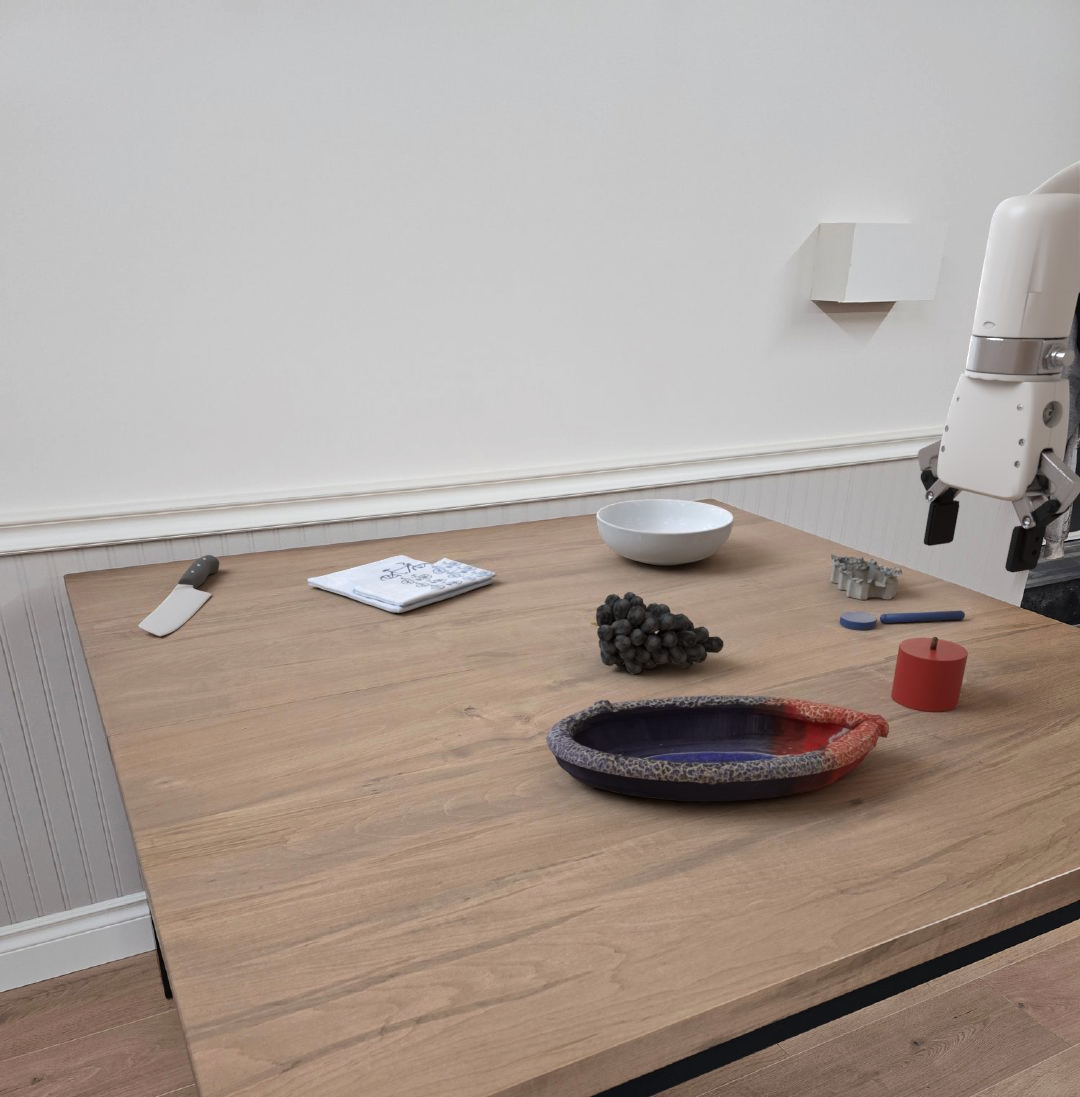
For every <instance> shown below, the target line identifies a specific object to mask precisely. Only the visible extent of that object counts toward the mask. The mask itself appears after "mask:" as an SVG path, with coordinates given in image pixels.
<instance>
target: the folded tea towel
mask: <svg viewBox="0 0 1080 1097" xmlns="http://www.w3.org/2000/svg"><path fill="white" fill-rule="evenodd" d="M497 575H498V574H497V573H496V572H493V571H492V570H488V569H483V568H479V567H476V566H473V565H469V564H466V563H463V562H461V561H457V560H453V559H449V558H447V557H443V558H441V559H440V560H437V562H434V563H431V562H426V561H422V560H419V559H414V558H411V557H410V556H407V555H403V554H400V555H395V556H391V557H387V558H385V559H381V560H377V561H374V562H369V563H365V564H362V565H357V566H354V567H351V568H347V569H344V570H339V571H336V572H332V573H327V574H325V575H320V576H313V577H309V578H307V586H308V587H313V588H319V589H321V590H324V591H328V592H331V593H334V594H337V595H341V596H345V597H346V598H350V599H351V600H355V601H358V602H361V603H363V604H365V605H370V606H372V607H375V608H379V609H381V610H385V611H387V612H389V613H395V614H401V613H405V612H408V611H411V610H414V609H415V610H416V609H419V608H421V607H424V606H428V605H430V604H433V603H437V602H440V601H443V600H446V599H450V598H454V597H456V596H459V595H461V594H462V595H463V594H465V593H468V592H471V591H473V590H476V589H478V588H481V587H485V586H488V585H492V584H494V582H495V580H494V579H493V578H495V577H497Z"/></svg>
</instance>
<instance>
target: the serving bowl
mask: <svg viewBox="0 0 1080 1097" xmlns="http://www.w3.org/2000/svg"><path fill="white" fill-rule="evenodd" d="M595 518H596V525H597V530H598V534H599V535H600V537H601V540H602V541H603V542H604V544H605V545H606V546H607V547H608V548H609V549H610V550H611V551H612V552H614V553H616V554H617V555H619V556H621V557H623V558H626V559H629V560H631V561H635V562H639V563H643V564H645V565H646V564H647V565H650V566H651V565H652V566H662V567H663V566H667V567H669V566H679V565H684V564H689V563H694V562H698V561H701V560H704V559H707V558H709V557H711V556H713V555H715V554H716V553H717V552H719V551H720V550H721V549H722V548H723V547H724V545H725V544H726V543H727V541H728V540H729V538H730V536H731V533H732V530H733V525H734V521H735V517H734V515H733V514H732V512H730V511H729V510H728V509H725V508H722V507H721V506H717V505H714V504H710V503H705V502H700V501H693V500H685V499H671V498H670V499H669V498H667V499H665V498H654V499H653V498H650V499H634V500H626V501H620V502H615V503H612V504H608V505H605V506H603V507H601V508H600V509H599V510H598V511H597V512H596V516H595Z"/></svg>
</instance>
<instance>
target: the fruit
mask: <svg viewBox="0 0 1080 1097" xmlns="http://www.w3.org/2000/svg"><path fill="white" fill-rule="evenodd" d="M671 612H672V611H671V609H670V606H669V605H667V604H665V603H656V602H653V603H649V604H648V605H647V604H645V602H644V598H642V597H641V596H639V595H636V593H634V592H633V591H628V592H626V593H625V594H624V595H623V598H621V597H620V596H619V594H615V593H611V594H609V595H607V596H606V598H605V599H604V604H603V603H602V604H600V605H599V606H598V607H596V614H595V619H596V621H595V622H593V621H591V622H590V625H592V626H596V627H598V628H597V631H596V634H597V636H598V639H599V640H598V647H599V650H600V652H599V653H600V659H601V662H602V664H604V665H605V666H608V667H611V666H614V665H615V666H623V665H624V666H625V669H626V671H627V672H628V673H629V674H630V675H638V674H640V673H641V672H642V670H643V668H644V669H647V670H652V669H654V668H655V667H656V666H657V664H658V665H662V664H666V663H667V662H669V663H673V664H675V665H680V666H681V667H682V668H684V669H689V668H691V667H693V666H694V664H702V663H704V662H705V661H706V659H707V657H708V653H709V654H710V653H712V654H719V653H720V652H721V651H722V650H723V648H724V644H725V643H724V640H723V639H722V638H721V637H720V636H718V635H717V636H710V632H709V629H708V628H706V626H697V627H695V625H694V622H692V620H690V618H689V617H688V616H687V615H685V614H684V613H677V614H674V613H671Z"/></svg>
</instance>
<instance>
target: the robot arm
mask: <svg viewBox="0 0 1080 1097" xmlns="http://www.w3.org/2000/svg"><path fill="white" fill-rule="evenodd" d="M986 242H987V243H986V247H985V254H984V261H983V266H982V272H981V278H980V283H979V289H978V294H977V301H976V307H975V313H974V320H973V325H972V331H971V336H970V340H969V347H968V353H967V359H966V365H965V369H964V372H962V373H960V376H959V379H958V381H957V384H956V387H955V388H954V391H953V395H952V398H951V401H950V405H949V408H948V411H947V415H946V419H945V422H944V426H943V431H942V436H941V439H940V440H937V441H936V442H933V443H931V444H928V445H926V446H923V447H922V448H920V449H919V450H918V452H917V459H918V464H919V469H920V481H921V483H922V485H923V487H924V489H925V491H926V492H925V494H924V499H925V501H926V502H927V503H929V506H928V507H929V508H928V512H927V518H926V525H925V532H924V537H923V544H924V545H925V546H929V547H933V546H937V545H944V544H950V543H952V542H953V541H954V538H955V533H956V527H957V521H958V516H959V511H960V500H956V497H957V496H959V495H960V493H961V492H962V491H965V492H968V493H971V494H975V495H980V496H984V497H987V498H988V497H989V498H992V499H997V500H1001V501H1004V502H1005V501H1006V502H1011V504H1012V506H1013V508H1014V511H1015V513H1016V516H1017V518H1018V520H1019V521H1018V522H1019V523H1020V525H1016V526H1014V527H1013V529H1012V532H1011V538H1010V542H1009V545H1008V551H1007V555H1006V562H1005V565H1004V566H1005V570H1006V571H1007V572H1008V573H1009V572H1010V573H1019V572H1026V571H1032V570H1034V569H1036V568H1037V566H1038V563H1039V559H1040V557H1041V552H1042V548H1043V544H1044V539H1045V534H1046V530H1047V526H1049V527H1050V526H1052V525H1053V524H1055V522H1056V520H1057V519H1058V518H1060V517H1061V516H1062V515H1064V514H1065V513H1066V512H1068V511H1069V509H1070V507H1071V504H1073V502H1074V501H1075V500H1076V499H1077V497H1078V496H1079V494H1080V476H1079V475H1078V474H1077V473H1076V472H1075V471H1074V470H1073V469H1071V468H1070V467H1069V465H1067V464H1066V463H1065V462H1064V461H1065V453H1066V447H1067V439H1068V433H1069V422H1070V421H1069V420H1070V397H1071V396H1070V395H1071V394H1070V380H1069V379H1065V378H1062V374H1063V369H1064V368H1065V367H1067V368H1068V367H1070V366H1071V365H1072V364H1073V362H1074V361H1075V357H1076V354H1075V351H1074V350H1073V349H1070V348H1068V346H1069V342H1070V341H1069V340H1070V336H1071V331H1072V326H1073V321H1074V316H1075V312H1076V307H1077V304H1078V298H1079V294H1080V160H1078V161H1076V162H1073V163H1072V164H1070V165H1068V166H1067V167H1065V168H1063V169H1061V170H1060V171H1059V172H1057V173H1055V174H1053V175H1052V176H1051V177H1050V178H1048V179H1047V180H1046V181H1044V182H1043V183H1041V184H1039V185H1038V186H1037V187H1036V188H1034V189H1033V190H1032V191H1031V192H1029V193H1027V194H1020V195H1015V196H1010V197H1008V198H1005V199H1004V200H1002V201H1001V202H999V204H998V205H997V207H996V208H995V210H994V211H993V214H992V217H991V221H990V226H989V231H988V236H987V241H986ZM1048 497H1051V498H1050V499H1049V498H1048ZM954 499H955V500H954Z"/></svg>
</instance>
